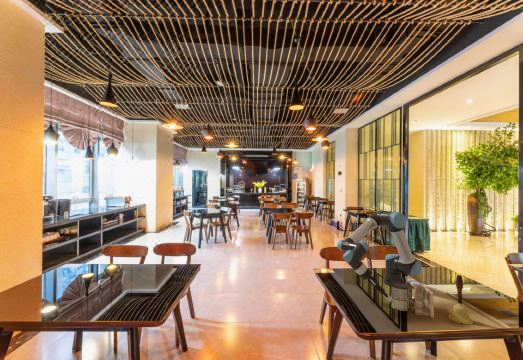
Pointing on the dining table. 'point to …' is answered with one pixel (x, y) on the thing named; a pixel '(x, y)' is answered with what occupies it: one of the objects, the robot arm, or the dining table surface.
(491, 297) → the dining table surface
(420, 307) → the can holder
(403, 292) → the coffee can
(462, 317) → the handbell
